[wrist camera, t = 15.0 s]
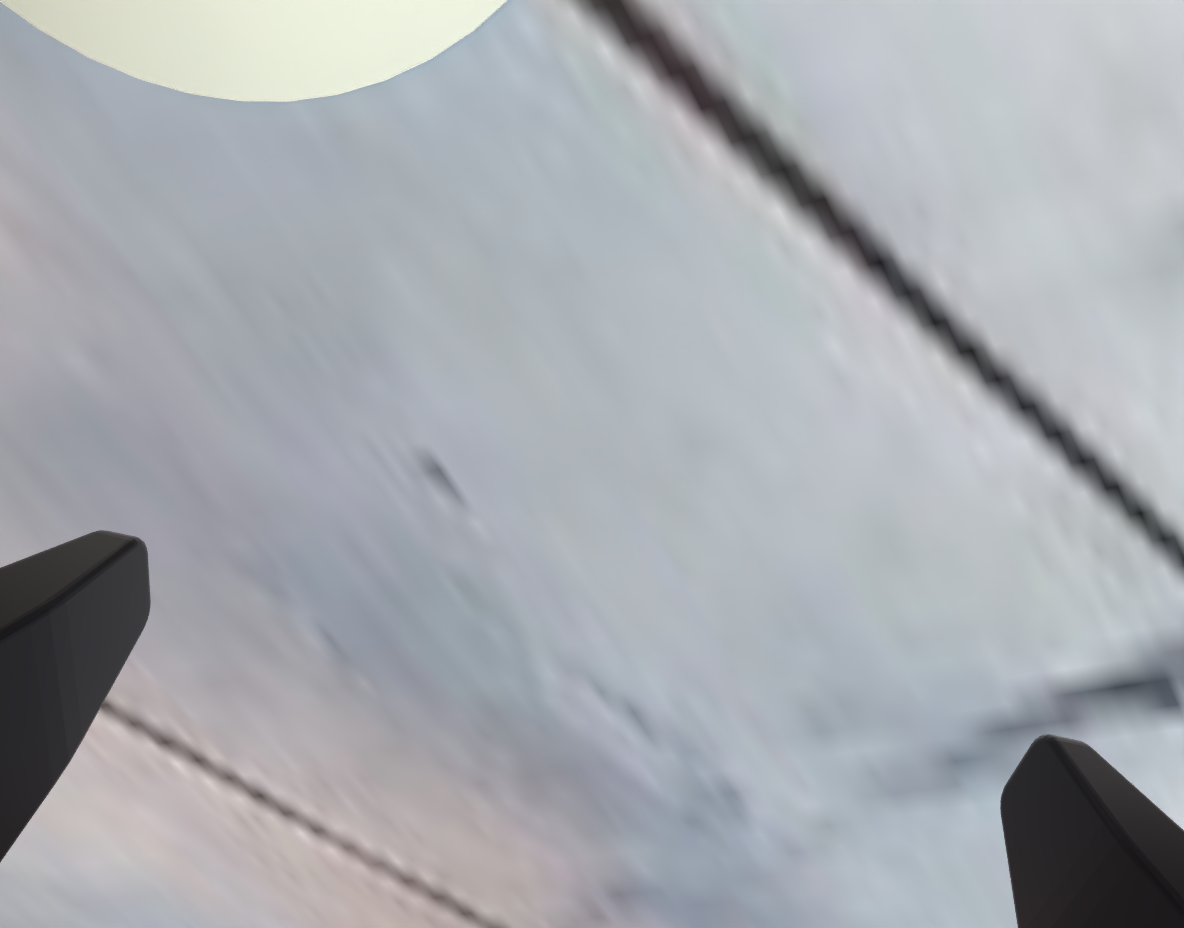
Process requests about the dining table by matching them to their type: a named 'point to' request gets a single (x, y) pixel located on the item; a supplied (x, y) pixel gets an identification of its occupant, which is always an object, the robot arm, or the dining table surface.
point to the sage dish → (259, 40)
